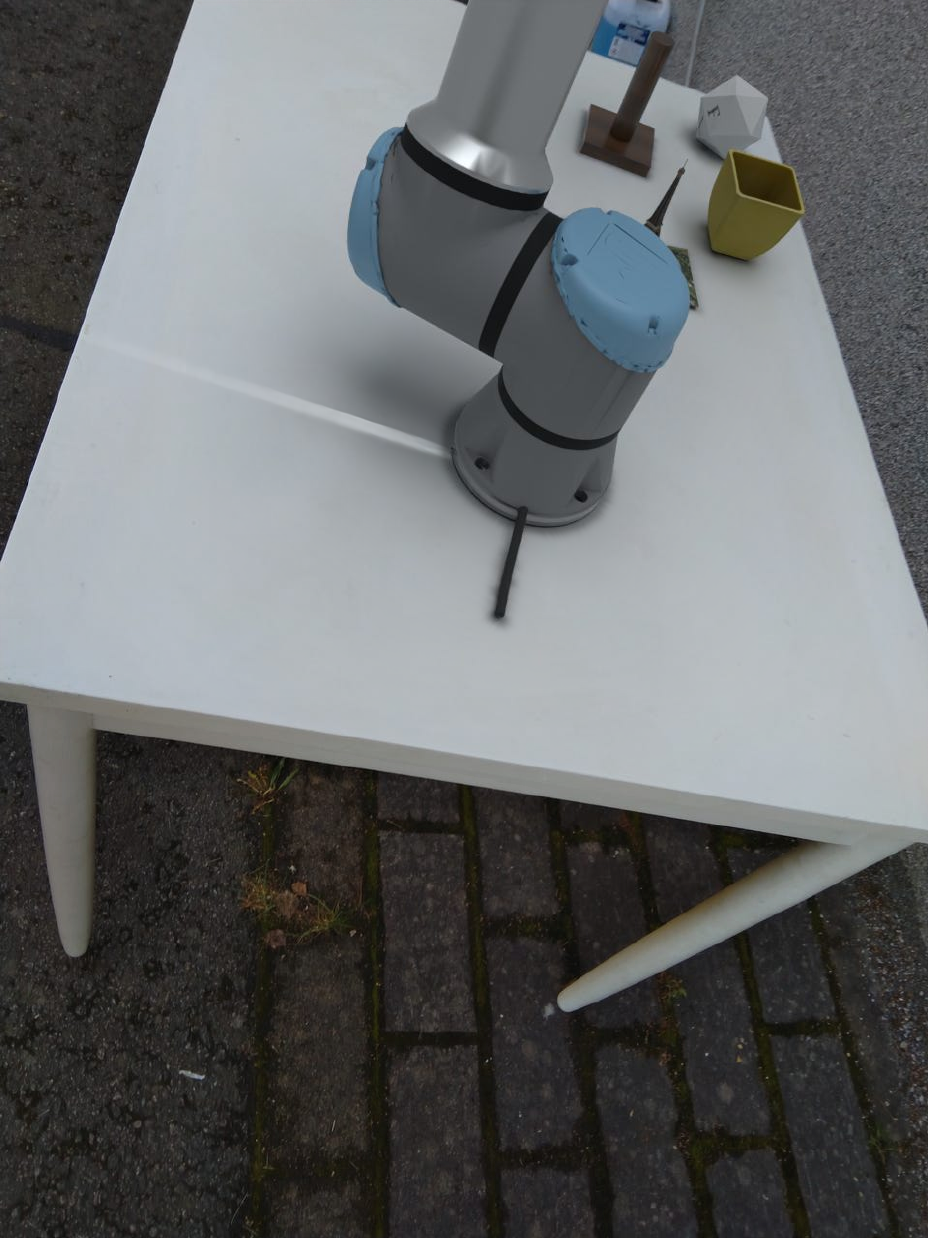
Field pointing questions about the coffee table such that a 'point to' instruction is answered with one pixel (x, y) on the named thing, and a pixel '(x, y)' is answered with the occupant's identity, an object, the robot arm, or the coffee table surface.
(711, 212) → the flower pot
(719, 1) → the grey ribbed ring
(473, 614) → the coffee table surface
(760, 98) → the die
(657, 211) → the eiffel tower figurine
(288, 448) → the coffee table surface
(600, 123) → the wooden peg stand
